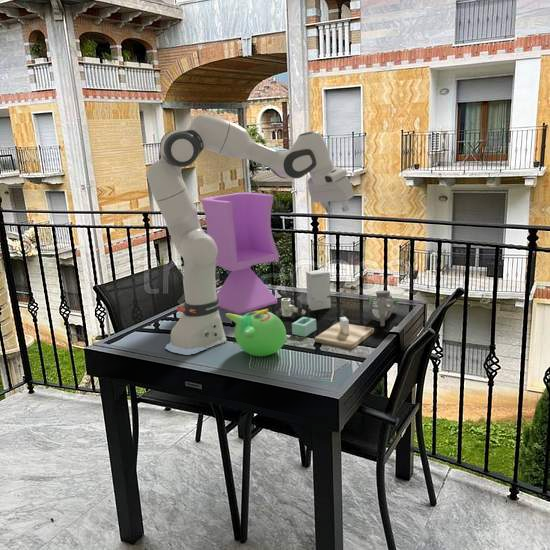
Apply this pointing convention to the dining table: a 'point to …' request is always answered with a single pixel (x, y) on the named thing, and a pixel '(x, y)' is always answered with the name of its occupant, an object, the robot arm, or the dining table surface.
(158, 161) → the robot arm
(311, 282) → the skincare box
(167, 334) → the dining table surface
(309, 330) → the teal collar
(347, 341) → the oak plate
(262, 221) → the chair
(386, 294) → the pipe fitting
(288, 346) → the dining table surface
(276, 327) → the toy bird
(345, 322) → the steel key shaft
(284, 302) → the valve
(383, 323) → the mechanical component
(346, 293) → the dining table surface
